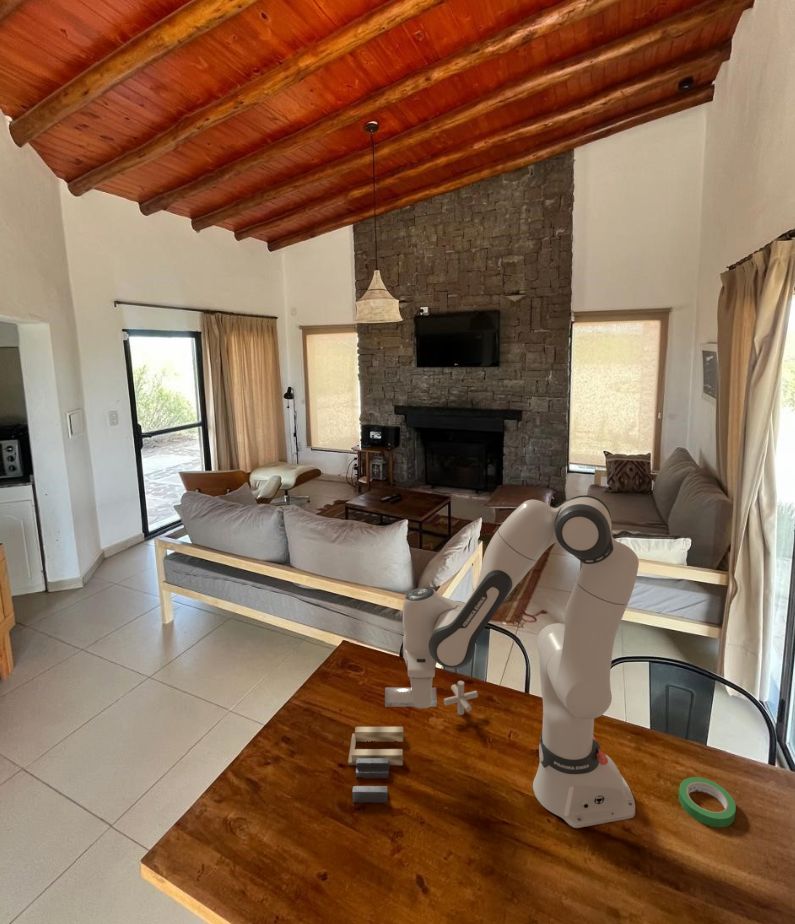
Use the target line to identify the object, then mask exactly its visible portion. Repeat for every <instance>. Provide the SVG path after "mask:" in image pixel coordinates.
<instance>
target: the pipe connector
mask: <svg viewBox="0 0 795 924" xmlns="http://www.w3.org/2000/svg"><path fill="white" fill-rule="evenodd" d="M450 689H451V691H452V693H453V694H454V695H453V696H450V697H445V698H443V703H444V705H445V706H449V705H453V704H457V714H458V715H459V716H463V715H464V714H465V711H466V712H467V713H468V712H471V710H472V706H471V704H470V703H469V700H472V699H475V698H478V697H479V693H478V691H477V690H473V691H469V692H465V682H464V681H463V680H458V681H457V684H455V683H454V684H452V685H451V687H450Z"/></svg>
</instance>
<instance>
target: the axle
mask: <svg viewBox="0 0 795 924" xmlns="http://www.w3.org/2000/svg"><path fill="white" fill-rule="evenodd" d="M437 701H438V700H437V687H432V690H431V700H430V706H429V708H430V707H437V706H438V705H437V704H438V703H437ZM384 706H385V707H415V706H414V703H413V696H412V689H411V687H385V688H384Z"/></svg>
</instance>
